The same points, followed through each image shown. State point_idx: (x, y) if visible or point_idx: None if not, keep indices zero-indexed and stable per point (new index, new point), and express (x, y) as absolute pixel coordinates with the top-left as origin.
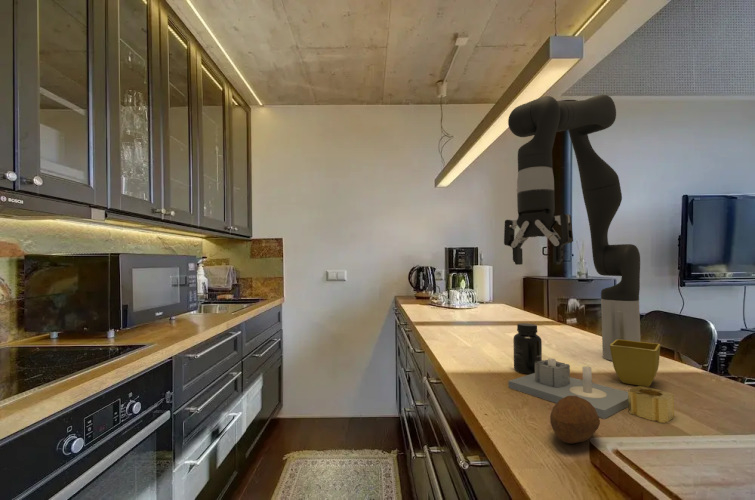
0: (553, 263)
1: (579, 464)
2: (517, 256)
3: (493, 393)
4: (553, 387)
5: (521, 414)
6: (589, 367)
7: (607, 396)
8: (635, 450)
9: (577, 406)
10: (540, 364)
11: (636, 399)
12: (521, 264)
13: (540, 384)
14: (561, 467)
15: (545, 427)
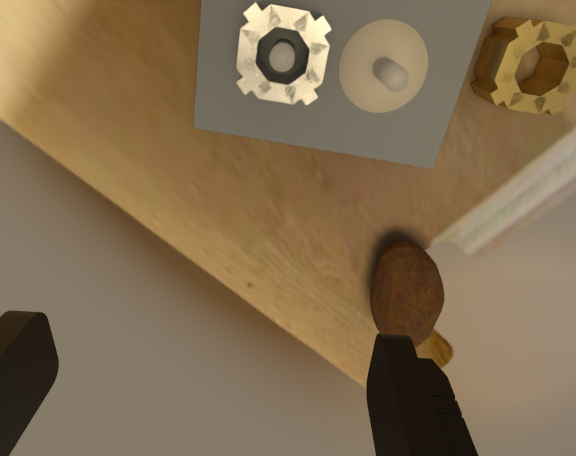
0: (367, 392)
1: None
2: (20, 434)
3: (196, 185)
4: None
5: (296, 246)
6: (402, 72)
7: (430, 64)
8: (478, 252)
9: (423, 339)
10: (259, 91)
11: (502, 105)
12: (47, 320)
13: None
14: None
15: (348, 267)
